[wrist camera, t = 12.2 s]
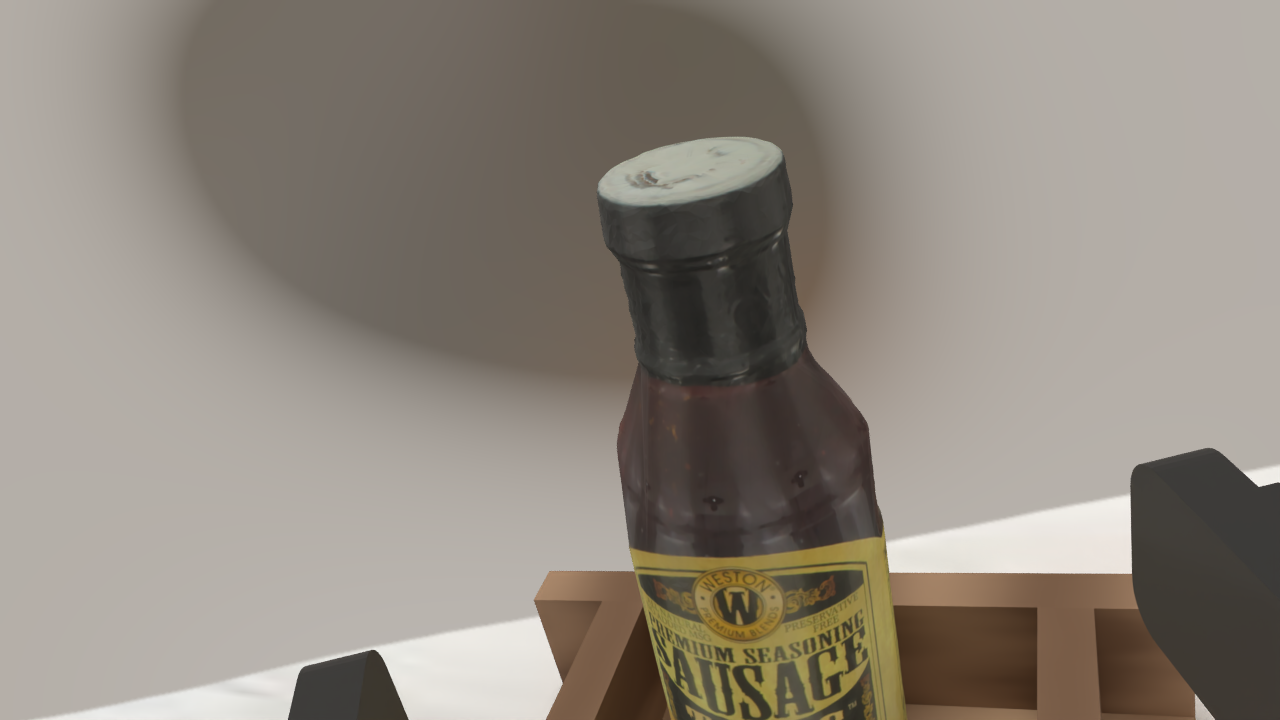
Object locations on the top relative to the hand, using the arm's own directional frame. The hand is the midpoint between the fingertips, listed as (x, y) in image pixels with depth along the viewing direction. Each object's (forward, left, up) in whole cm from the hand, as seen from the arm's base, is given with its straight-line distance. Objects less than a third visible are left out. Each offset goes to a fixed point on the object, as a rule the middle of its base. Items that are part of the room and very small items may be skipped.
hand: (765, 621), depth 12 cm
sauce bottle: (-5, +13, -19) cm, 24 cm away
